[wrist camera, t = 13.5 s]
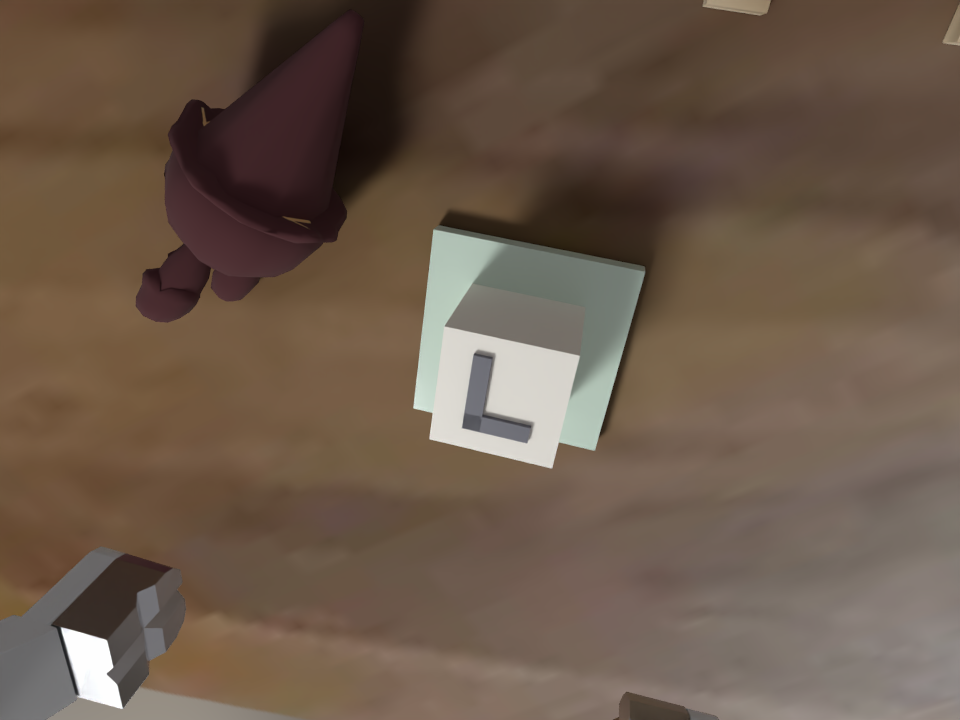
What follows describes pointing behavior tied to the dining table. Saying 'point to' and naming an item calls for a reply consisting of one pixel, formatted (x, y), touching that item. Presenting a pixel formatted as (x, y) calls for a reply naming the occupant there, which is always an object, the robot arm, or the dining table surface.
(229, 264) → the maroon gnome figurine
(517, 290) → the green tile
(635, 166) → the dining table surface
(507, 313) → the letter cube
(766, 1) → the oak screen
